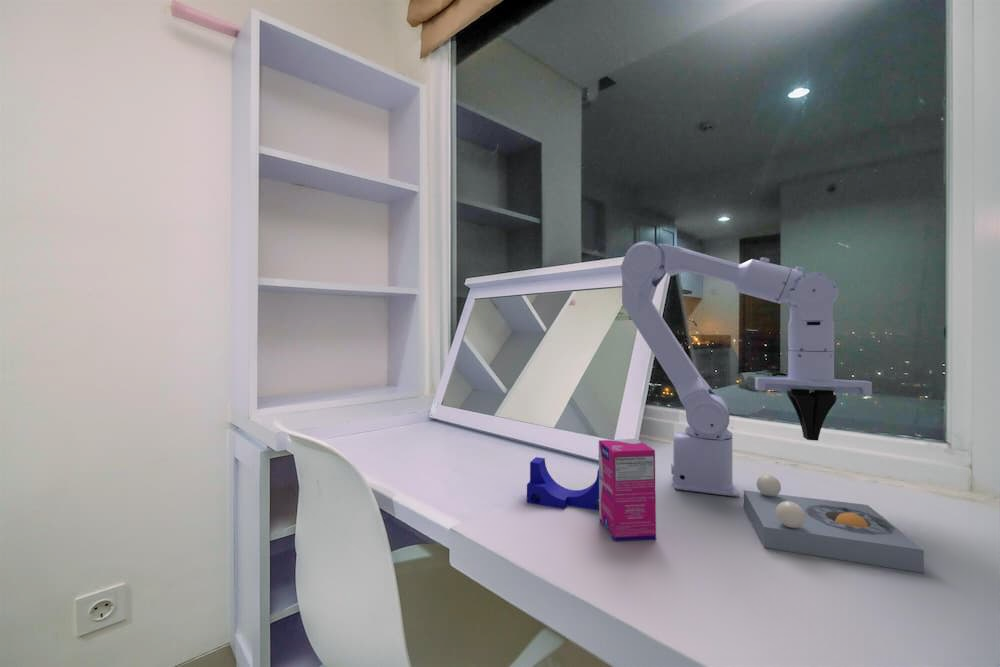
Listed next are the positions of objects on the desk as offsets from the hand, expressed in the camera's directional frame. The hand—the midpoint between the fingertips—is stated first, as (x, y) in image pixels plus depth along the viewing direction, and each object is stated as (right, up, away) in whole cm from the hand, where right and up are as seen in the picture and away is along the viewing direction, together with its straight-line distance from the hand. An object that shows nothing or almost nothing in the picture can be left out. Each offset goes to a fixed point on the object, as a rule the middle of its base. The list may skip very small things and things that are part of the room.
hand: (810, 438), depth 64 cm
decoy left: (-9, -6, -4) cm, 11 cm away
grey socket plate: (-7, -10, -10) cm, 16 cm away
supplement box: (-31, -10, -9) cm, 34 cm away
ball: (-4, -8, -12) cm, 15 cm away
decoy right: (-13, -6, -14) cm, 20 cm away
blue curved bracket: (-38, -10, -1) cm, 39 cm away
